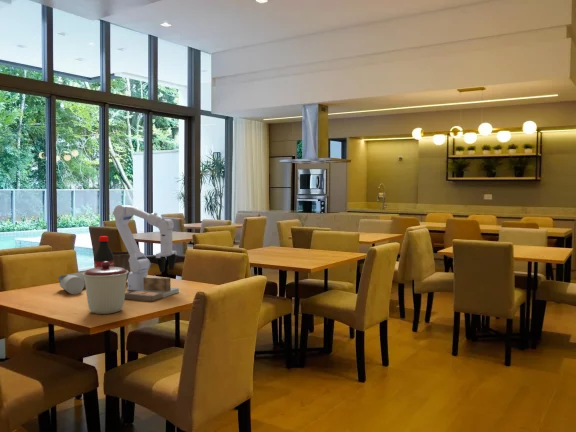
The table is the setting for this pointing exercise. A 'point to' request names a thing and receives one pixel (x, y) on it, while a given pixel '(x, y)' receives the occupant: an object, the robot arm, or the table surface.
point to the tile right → (150, 293)
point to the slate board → (165, 293)
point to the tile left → (138, 292)
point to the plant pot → (122, 260)
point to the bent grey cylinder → (72, 282)
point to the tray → (143, 297)
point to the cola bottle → (103, 253)
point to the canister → (105, 288)
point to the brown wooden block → (157, 283)
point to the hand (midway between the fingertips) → (166, 270)
